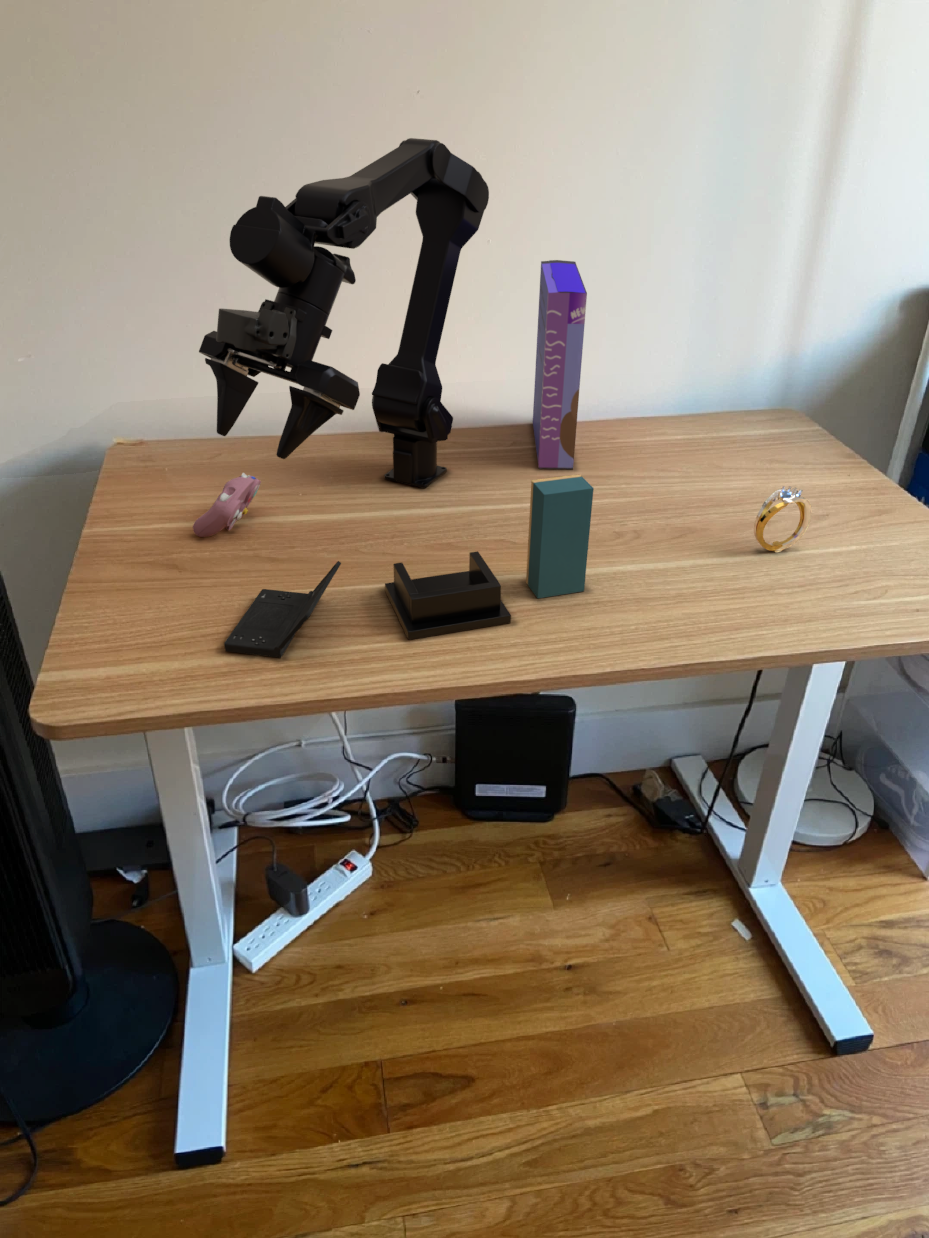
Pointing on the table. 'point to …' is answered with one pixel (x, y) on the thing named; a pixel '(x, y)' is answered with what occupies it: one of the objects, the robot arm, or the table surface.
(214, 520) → the video game controller
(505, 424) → the table surface
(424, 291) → the robot arm
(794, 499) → the ring
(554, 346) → the cereal box
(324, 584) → the handheld gaming console
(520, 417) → the table surface
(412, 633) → the black square holder
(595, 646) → the table surface
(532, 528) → the teal rectangular block
